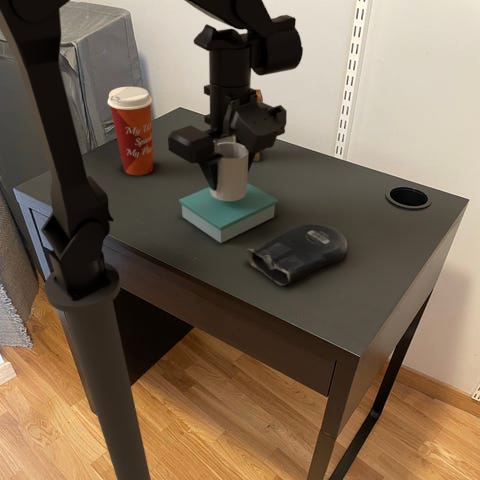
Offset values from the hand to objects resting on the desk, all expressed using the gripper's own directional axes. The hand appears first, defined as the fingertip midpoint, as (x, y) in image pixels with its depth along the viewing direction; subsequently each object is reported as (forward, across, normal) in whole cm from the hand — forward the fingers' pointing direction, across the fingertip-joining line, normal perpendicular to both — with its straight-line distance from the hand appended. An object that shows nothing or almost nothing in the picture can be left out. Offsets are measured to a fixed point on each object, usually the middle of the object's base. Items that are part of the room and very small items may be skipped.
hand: (228, 183), depth 77 cm
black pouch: (+6, +1, -16) cm, 17 cm away
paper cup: (+6, -2, +24) cm, 25 cm away
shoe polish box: (+6, +18, +15) cm, 24 cm away
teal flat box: (+6, 0, 0) cm, 6 cm away
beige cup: (+2, 0, 0) cm, 2 cm away
